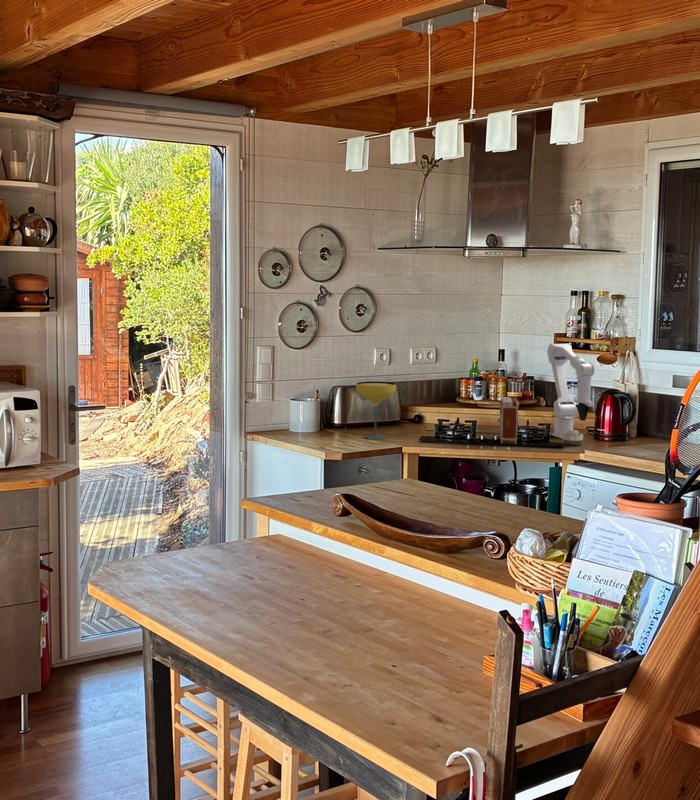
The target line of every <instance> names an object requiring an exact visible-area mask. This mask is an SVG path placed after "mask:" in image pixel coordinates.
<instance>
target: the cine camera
mask: <svg viewBox="0 0 700 800" xmlns="http://www.w3.org/2000/svg"><path fill="white" fill-rule="evenodd" d="M519 407H520V402H519V401H518V400H517V398H516V397H510V396H502V397H501V398H500V407H499V415H500V417H499V418H497V422H498V423H499V428H498V429H499V432H498V433H499V441H500V444H501V445H511V446H513V445H517V440H518V429H519V417H520V416H519V415H520V414H519Z"/></svg>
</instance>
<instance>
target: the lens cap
mask: <svg viewBox="0 0 700 800" xmlns="http://www.w3.org/2000/svg"><path fill="white" fill-rule="evenodd" d="M578 433H579V430H576V429H573V430H567V435H570V436H578Z"/></svg>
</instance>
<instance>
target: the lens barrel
mask: <svg viewBox="0 0 700 800" xmlns="http://www.w3.org/2000/svg"><path fill="white" fill-rule="evenodd" d="M561 441H562V442H561V444H562V446H568V447H581V446H583V444H584V434H583V433H579V432H578V436H570V435H567V433H563V434H562V438H561Z"/></svg>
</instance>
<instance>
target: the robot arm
mask: <svg viewBox="0 0 700 800" xmlns="http://www.w3.org/2000/svg"><path fill="white" fill-rule="evenodd" d="M572 347H573V346H572V345H571V344H570V343H567V342H566V343H550V344H549V345H548V347H547V350H546V351H547V357H548V362H549V363H550V365H551V369H552V374H553V378H554V380H553V381H554V383H555V384H554V385H555V389H556V395H557V399H556V400H554V402H553V415H554V416H555V417H556V418H555V419H554V423H553V433H552V434H551V435H552V436H553V437H557V438H559V439H562V434H563V433H567V430H574V419H576V417H577V416H578V417H579V421H582V422H583V421H586V419H587V416H588V414H589V411H590V410H591V408H592V407H594V402H593V401H592V400H591V392H592V391H591V390H592V389H591V388H592V376H594V374H595V368H594V367H595V366H594V364H593V363H592V362H588V363H587V361H586V360H585V359H583V358H582V357H581V355H579V354H575V352H574V351H573V349H572ZM568 360H569V364H570V366H571V368H573V370H575V374H576V380H577V394H576V395H577V397H573V398H574V399H573V398H572V397H571V396H570V393H569V388H568V383H567V378H566V375H565V369H564V364H566V363H567V362H568ZM577 403H578V404H577Z"/></svg>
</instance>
